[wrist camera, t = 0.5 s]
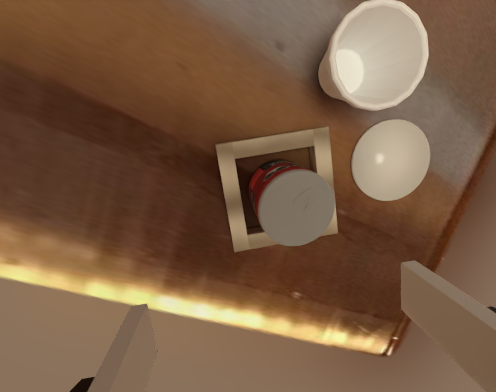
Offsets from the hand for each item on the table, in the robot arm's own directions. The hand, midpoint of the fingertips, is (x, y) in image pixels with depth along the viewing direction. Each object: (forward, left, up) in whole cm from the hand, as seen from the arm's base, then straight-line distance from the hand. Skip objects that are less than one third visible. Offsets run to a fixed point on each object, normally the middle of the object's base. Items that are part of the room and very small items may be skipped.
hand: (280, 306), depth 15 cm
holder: (0, +5, -25) cm, 25 cm away
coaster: (-1, +21, -25) cm, 32 cm away
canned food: (0, +5, -25) cm, 26 cm away
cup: (-13, +15, -25) cm, 32 cm away
